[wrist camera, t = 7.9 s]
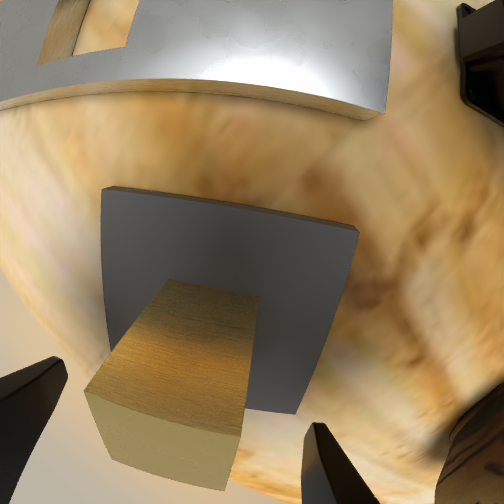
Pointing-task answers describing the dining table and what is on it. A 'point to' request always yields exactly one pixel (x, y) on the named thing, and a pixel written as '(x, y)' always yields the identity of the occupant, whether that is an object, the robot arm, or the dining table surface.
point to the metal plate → (207, 52)
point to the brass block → (179, 384)
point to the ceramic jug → (476, 456)
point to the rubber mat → (231, 275)
